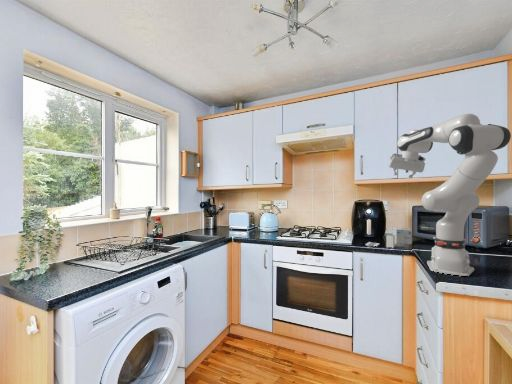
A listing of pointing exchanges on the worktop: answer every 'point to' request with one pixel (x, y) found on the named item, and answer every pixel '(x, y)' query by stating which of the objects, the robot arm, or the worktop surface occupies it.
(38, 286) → the worktop surface
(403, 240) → the light bulb box
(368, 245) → the mounting pad
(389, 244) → the grey module
